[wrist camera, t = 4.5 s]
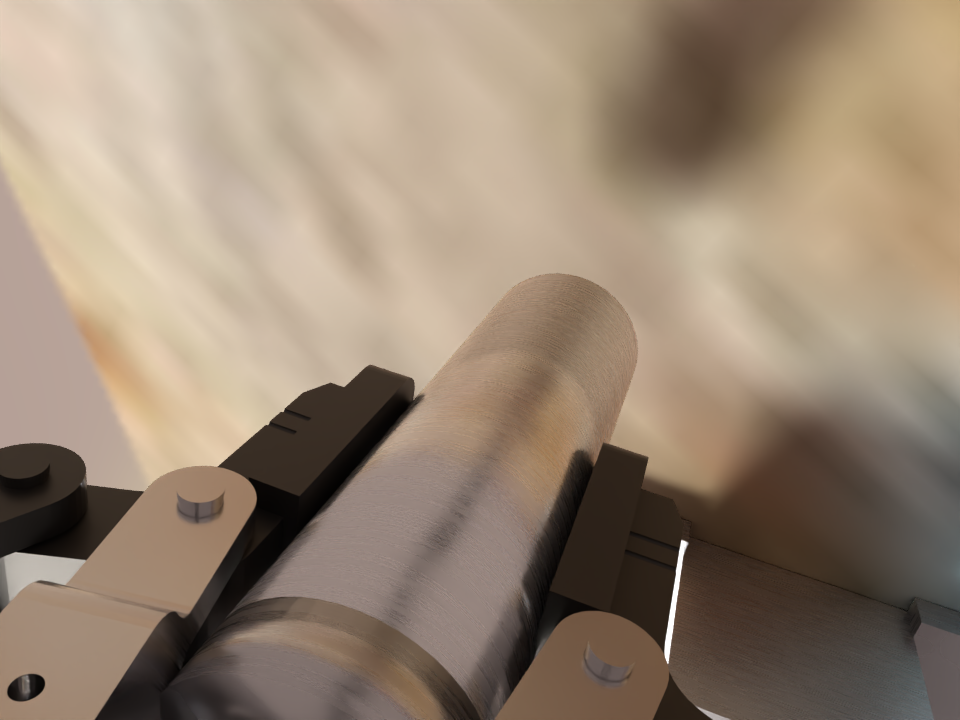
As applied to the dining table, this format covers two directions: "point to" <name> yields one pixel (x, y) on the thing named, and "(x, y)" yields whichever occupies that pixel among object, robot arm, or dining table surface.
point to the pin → (434, 534)
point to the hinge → (803, 645)
